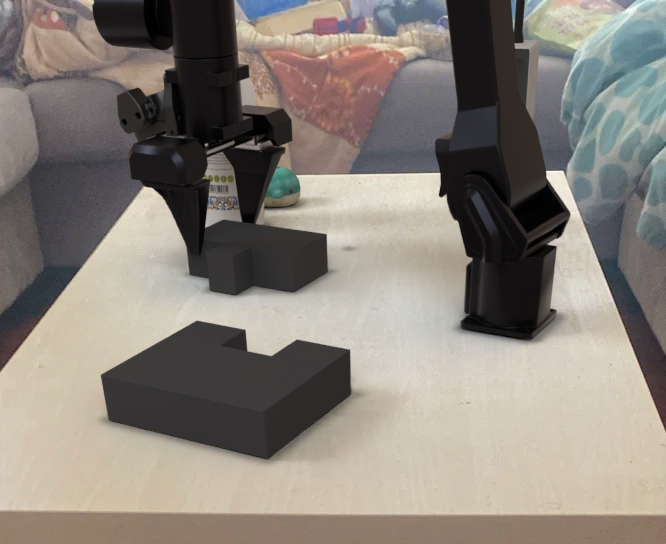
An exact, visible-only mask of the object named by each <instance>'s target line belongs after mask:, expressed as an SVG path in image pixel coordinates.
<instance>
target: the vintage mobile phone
mask: <svg viewBox="0 0 666 544" xmlns="http://www.w3.org/2000/svg"><path fill="white" fill-rule="evenodd" d="M525 6H526V0H516V1H515V9H514V11H515V12H514V22H513V30H514V42H515V54H516V66H517V78H518V88H519V93H520V96H521V98H522V100H523V102H524V104H525V106H526V108H527V110H528V112H529V114H530V116H531V118H532V120H533V121H534V117H535V107H536V106H535V105H536V94H537V84H538V83H537V82H538V70H539V59H540V47H541V43H540V40H539V39H524V22H525V21H524V19H525Z"/></svg>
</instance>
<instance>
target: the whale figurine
mask: <svg viewBox="0 0 666 544" xmlns="http://www.w3.org/2000/svg"><path fill="white" fill-rule="evenodd" d="M300 198H301V183H300V180H299V177H298V176H297V175H296V173H295V172H294V171H293V170H292V169H290V168H289V167H286V166H281V165H279V166H278V165H277V168H276V170H275V173H274V175H273V178H272V180H271V183H270V185H269V188H268V191H267V193H266V196H265V199H264V207H271V208H277V207H279V208H281V207H289V206H291V205H294V204H295V203H297V202H298V201H299V199H300Z"/></svg>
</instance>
